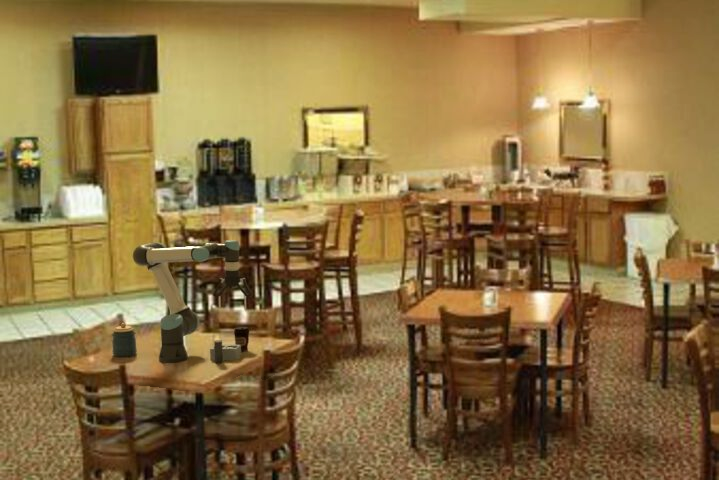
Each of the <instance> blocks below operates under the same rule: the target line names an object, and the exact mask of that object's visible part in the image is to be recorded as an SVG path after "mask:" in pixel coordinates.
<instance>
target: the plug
mask: <svg viewBox="0 0 719 480" xmlns="http://www.w3.org/2000/svg"><path fill="white" fill-rule="evenodd" d="M222 345H223V339H222V338H216V339H214V340H213V346H214V349H215V360H214V363H215V364H216V365H219V364H223V363H224V360H223V355H222Z"/></svg>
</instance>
